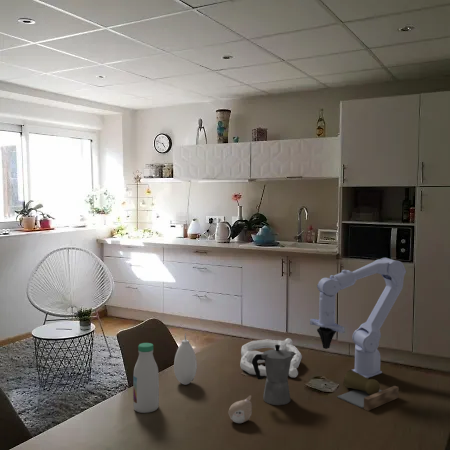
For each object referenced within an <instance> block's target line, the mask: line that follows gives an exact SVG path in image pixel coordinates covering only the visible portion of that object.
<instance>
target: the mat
mask: <svg viewBox="0 0 450 450" xmlns="http://www.w3.org/2000/svg"><path fill="white" fill-rule="evenodd" d="M380 391H382V389H380V390H379V392H380ZM368 396H370V395H369V394H368V393H367V392H365V391H361V390H357V389H353V390H350V391H347V392H345V393H343V394H339V395H337V398H338V399H340V400H343V401H344V402H347V403H349V404H351V405H353V406H356V407H357V408H361V409H364V398H365V397H368Z"/></svg>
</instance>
